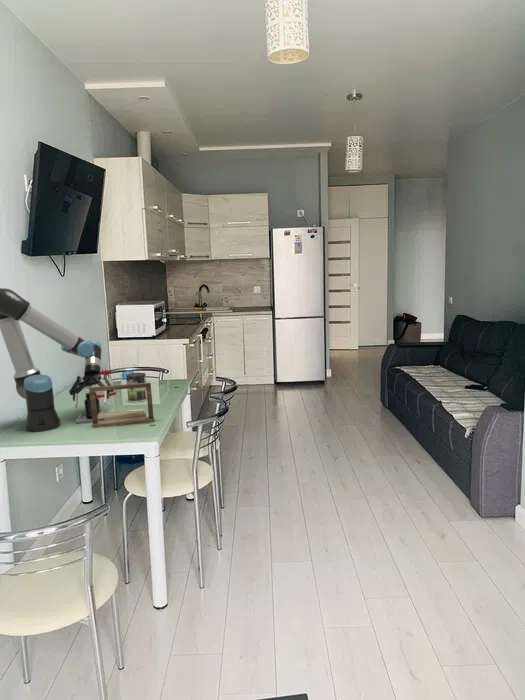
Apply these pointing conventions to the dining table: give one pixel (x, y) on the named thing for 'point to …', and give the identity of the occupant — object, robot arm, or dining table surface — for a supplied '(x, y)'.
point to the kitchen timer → (102, 393)
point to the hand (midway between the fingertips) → (90, 405)
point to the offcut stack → (121, 416)
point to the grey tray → (83, 418)
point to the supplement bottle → (88, 406)
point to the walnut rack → (116, 387)
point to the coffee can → (136, 393)
